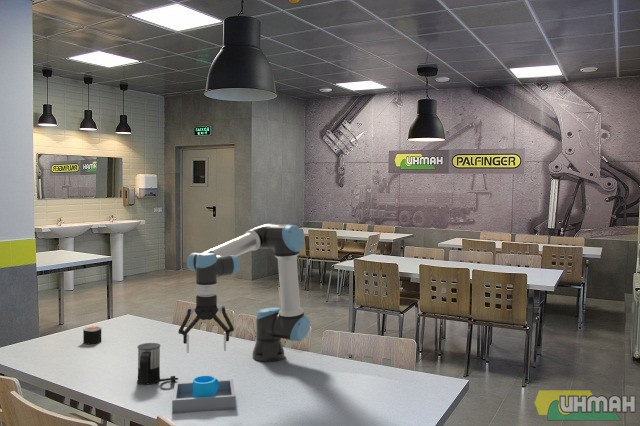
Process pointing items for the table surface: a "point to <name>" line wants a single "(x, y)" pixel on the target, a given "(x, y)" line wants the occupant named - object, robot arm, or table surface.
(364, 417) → the table surface
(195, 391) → the mug
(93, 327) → the sushi
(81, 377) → the table surface
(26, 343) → the table surface
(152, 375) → the milk frother
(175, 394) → the box
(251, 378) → the table surface
